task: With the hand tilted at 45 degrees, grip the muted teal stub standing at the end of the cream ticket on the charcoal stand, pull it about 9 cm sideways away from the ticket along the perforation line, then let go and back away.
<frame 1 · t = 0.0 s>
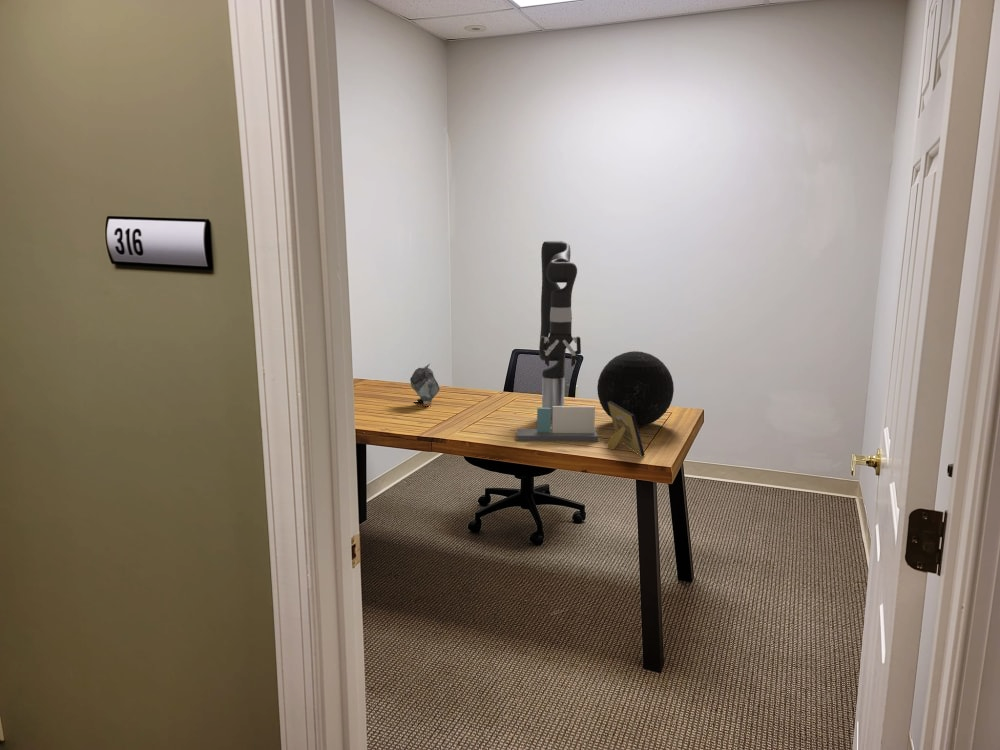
hand: (560, 366, 247), 29 cm above the table, tool pointing down, fingers open, 8 cm apart
stub: (543, 419, 263), point 7 cm above the table, slide at 0.0 cm
ticket stand: (556, 437, 264), on the table
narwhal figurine: (425, 405, 319), on the table
fuzzy black sphere: (633, 425, 283), on the table
picture frame: (620, 448, 251), on the table
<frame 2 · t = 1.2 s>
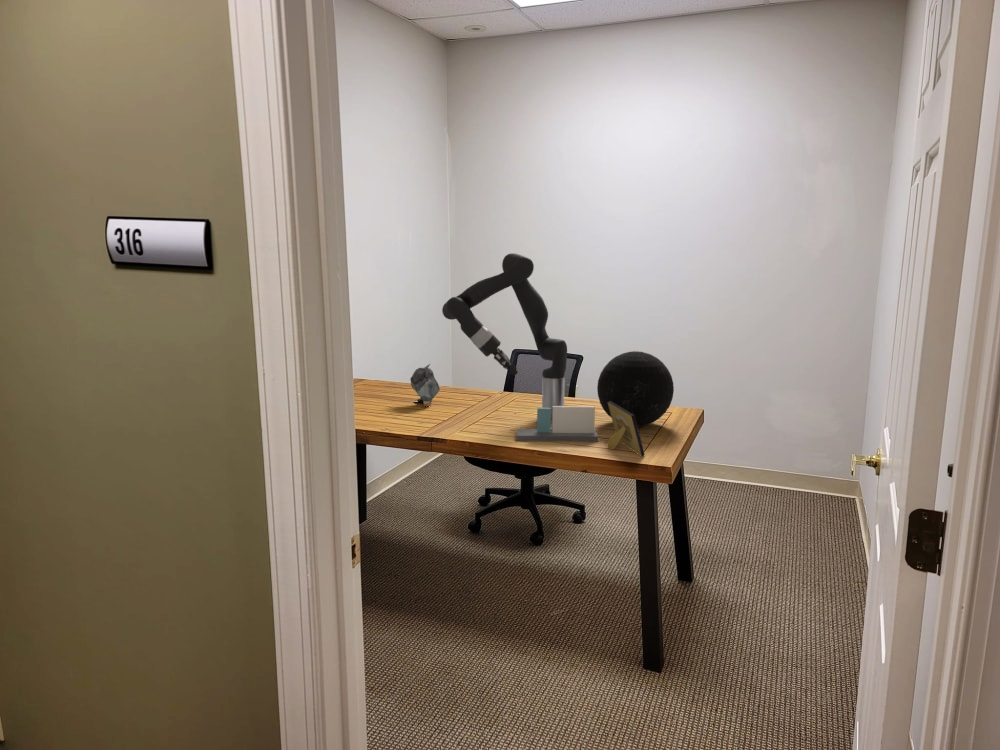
hand: (515, 372, 260), 25 cm above the table, tool tilted 45°, fingers open, 8 cm apart
nothing on the table moved.
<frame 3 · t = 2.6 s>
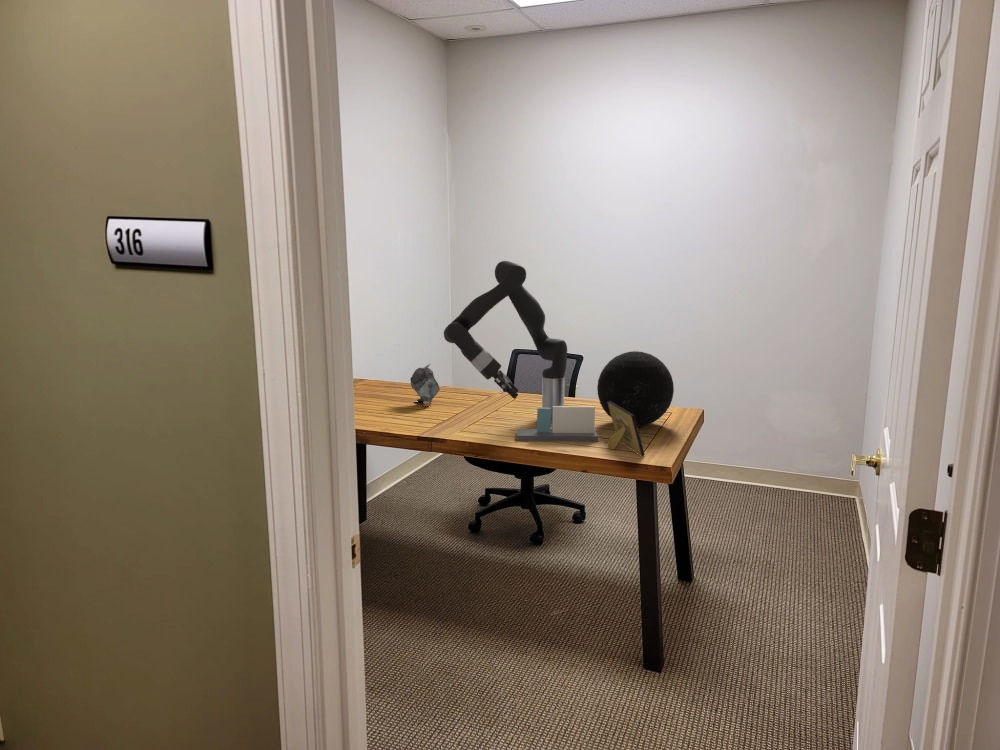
hand: (516, 394, 262), 16 cm above the table, tool tilted 45°, fingers open, 8 cm apart
nothing on the table moved.
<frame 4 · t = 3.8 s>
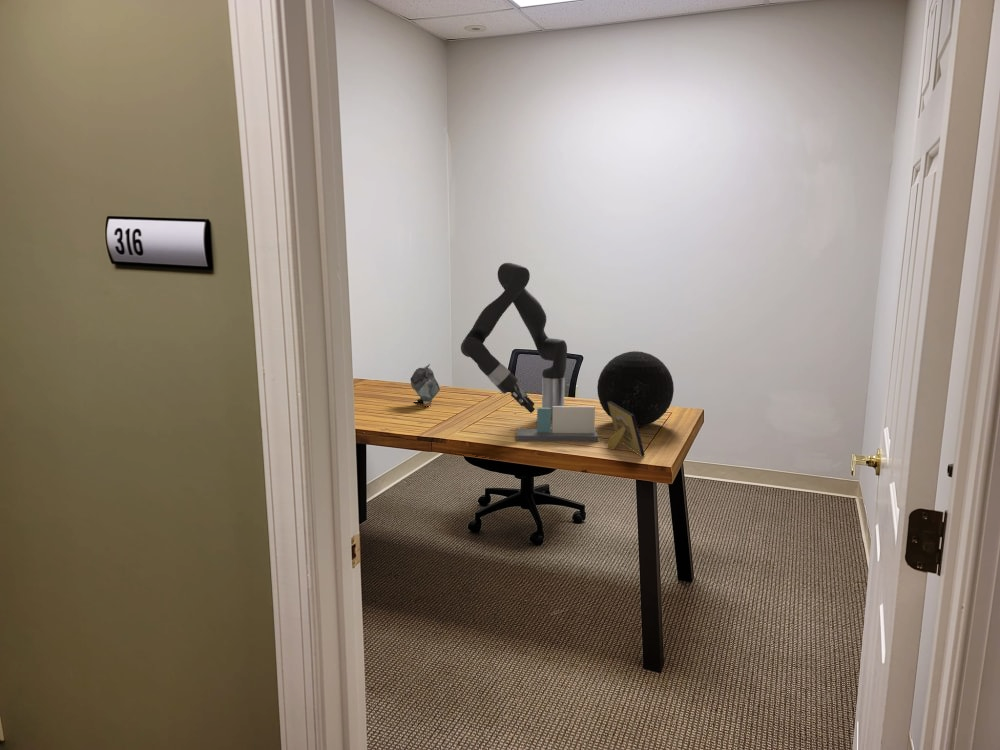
hand: (533, 408, 262), 11 cm above the table, tool tilted 45°, fingers open, 8 cm apart
nothing on the table moved.
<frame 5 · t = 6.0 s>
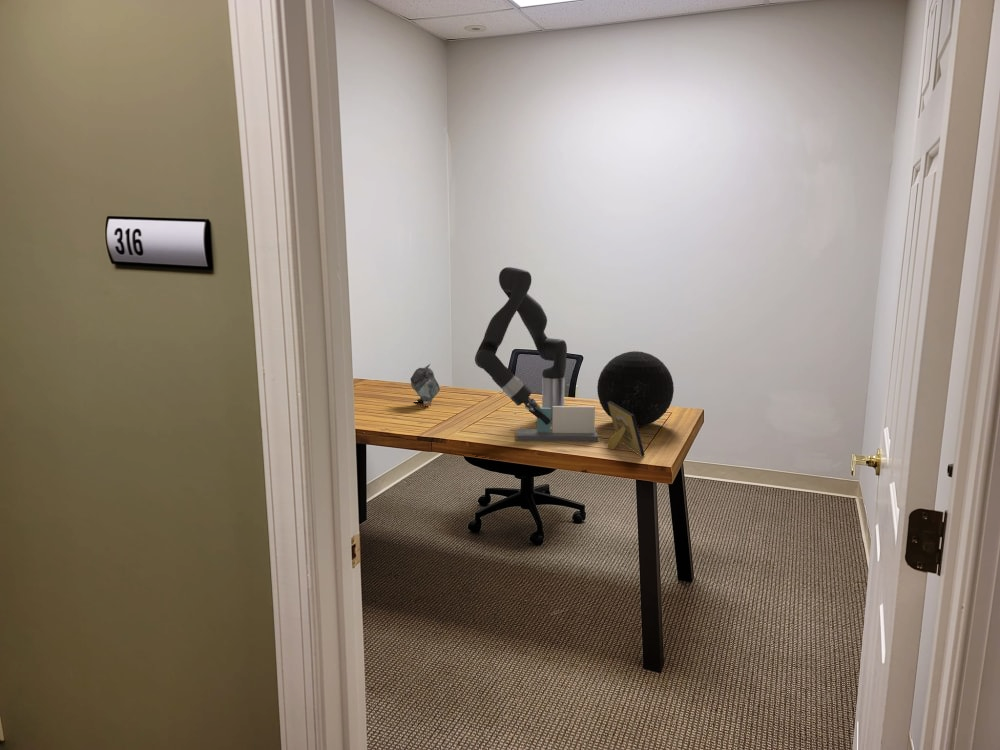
hand: (548, 422, 263), 6 cm above the table, tool tilted 45°, fingers closed
stub: (543, 419, 263), point 7 cm above the table, slide at 0.0 cm, touching gripper
everything else where it was.
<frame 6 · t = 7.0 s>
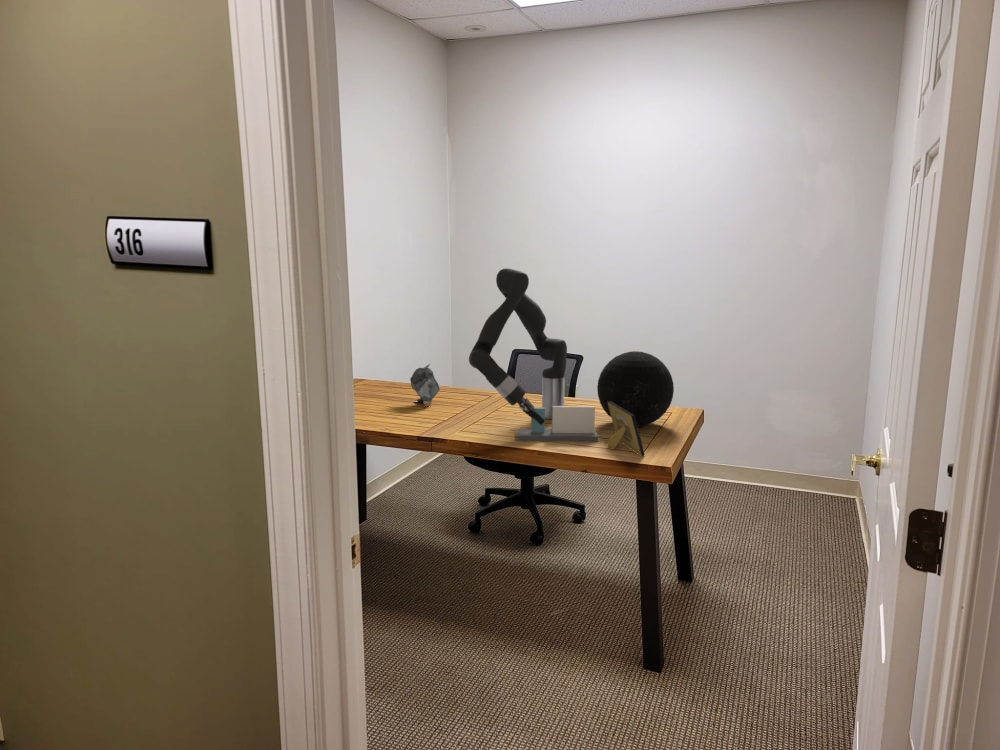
hand: (542, 422, 263), 6 cm above the table, tool tilted 45°, fingers closed
stub: (537, 419, 263), point 7 cm above the table, slide at 2.2 cm, touching gripper
everything else where it was.
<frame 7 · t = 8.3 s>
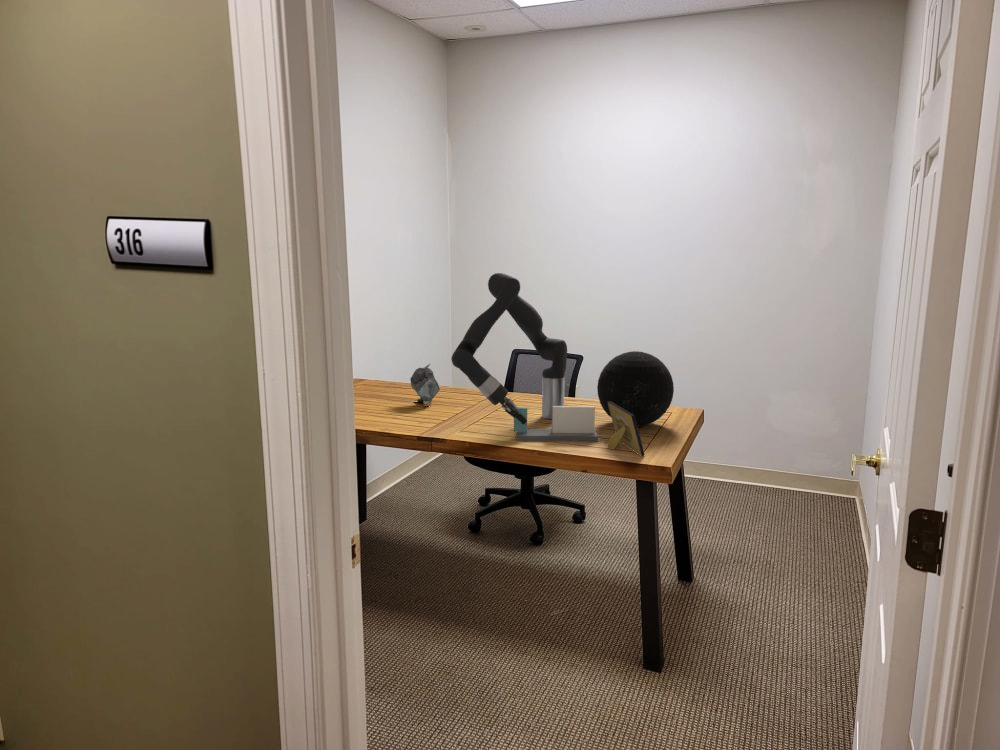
hand: (525, 422, 263), 6 cm above the table, tool tilted 45°, fingers closed
stub: (520, 419, 263), point 7 cm above the table, slide at 8.7 cm, touching gripper
everything else where it was.
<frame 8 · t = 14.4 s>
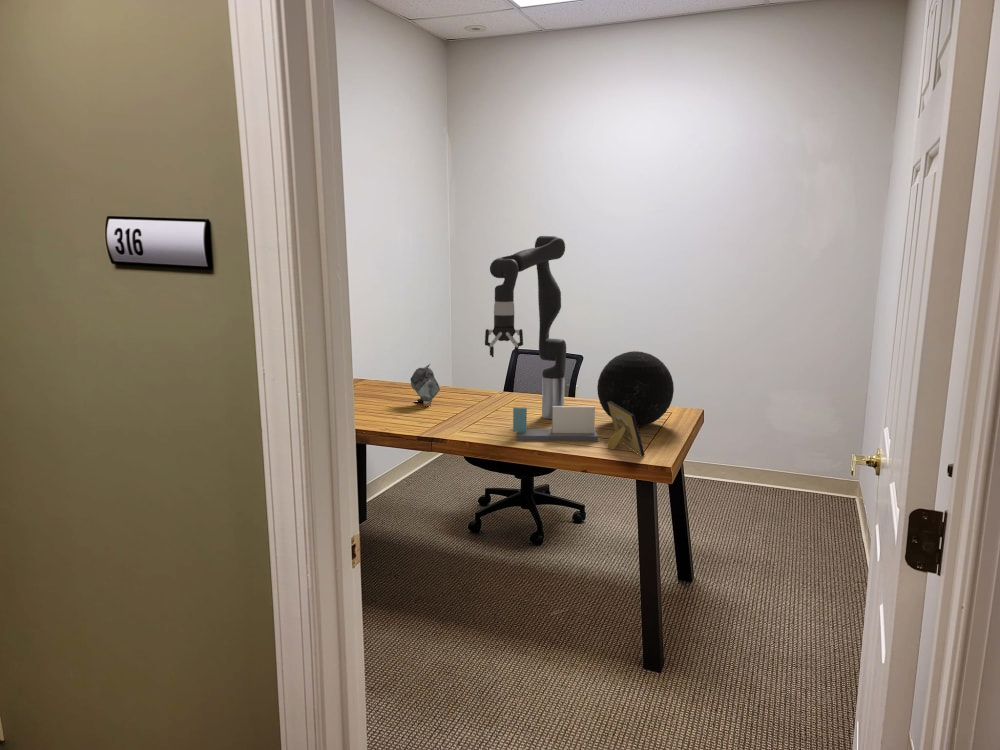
hand: (504, 356, 262), 30 cm above the table, tool pointing down, fingers open, 8 cm apart
stub: (519, 419, 263), point 7 cm above the table, slide at 9.0 cm
everything else where it was.
at the end: stub slide at 9.0 cm; the gripper is holding nothing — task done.
